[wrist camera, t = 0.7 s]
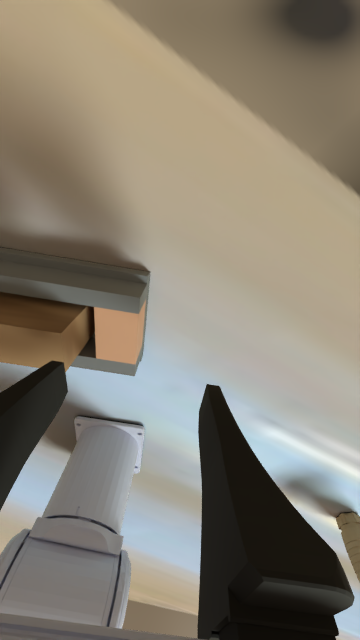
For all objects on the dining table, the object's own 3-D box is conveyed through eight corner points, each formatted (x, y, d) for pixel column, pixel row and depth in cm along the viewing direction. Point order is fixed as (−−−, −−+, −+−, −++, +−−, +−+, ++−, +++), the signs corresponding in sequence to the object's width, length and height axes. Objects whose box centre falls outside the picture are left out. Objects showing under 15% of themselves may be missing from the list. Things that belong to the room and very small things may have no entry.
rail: (142, 354, 21) (134, 381, 18) (-97, 316, 21) (-147, 338, 18) (150, 271, 17) (140, 289, 14) (-144, 223, 17) (-219, 230, 14)
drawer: (95, 331, 19) (65, 371, 15) (-1, 315, 19) (-60, 352, 15) (93, 298, 18) (60, 333, 13) (-11, 281, 18) (-79, 311, 13)
